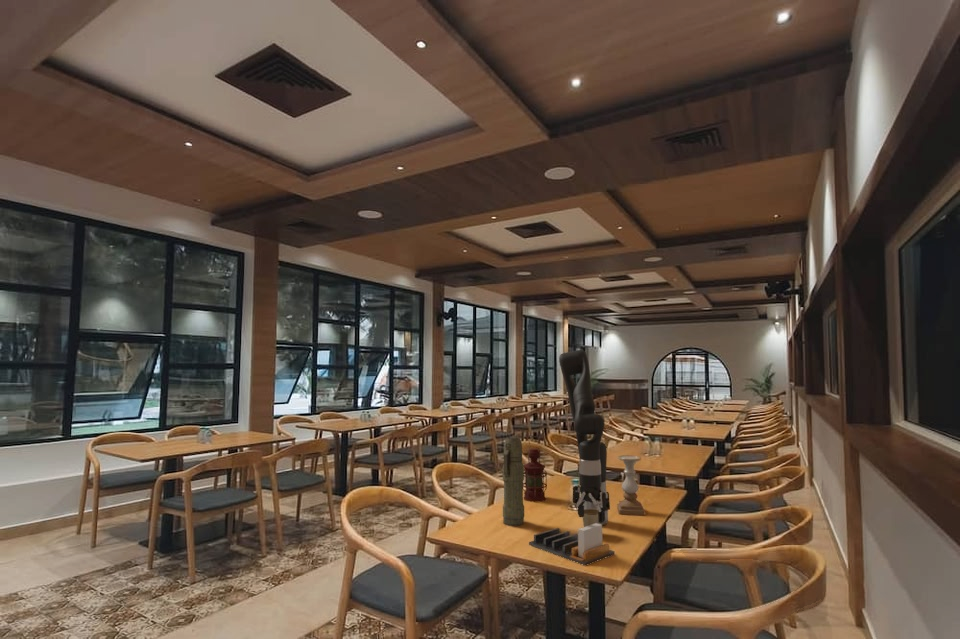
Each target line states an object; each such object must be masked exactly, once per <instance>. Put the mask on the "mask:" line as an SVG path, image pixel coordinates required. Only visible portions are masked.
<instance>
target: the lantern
mask: <svg viewBox="0 0 960 639" xmlns="http://www.w3.org/2000/svg"><path fill="white" fill-rule="evenodd" d="M532 438H538V439H540V437H539V436H535V435H534V436H531V437H529V439H528V444H529V450H528V452H527V457H528V458H527V463H526V464H523V466H524V471H525V472H524V481H525V482H523V500H524V501H526V502H532V501H534V503H536V502H535V501H540V502H543V500H544V501H545V500H546V495H545V494H546V493H545V492H546V490H547V489H548V487H547V486H548V485H547V484H548V483H546V482H547V476H548V474H547V471H546V470H545V468H546V465H545V464H542V462H541V451H540V448H539V447H537V448H531V447H532V446H531V443H530V440H531V439H532ZM539 443H540V440H538V441H537V444H539ZM544 478H545V479H544ZM544 480H545V482H544ZM524 488H525V489H524Z"/></svg>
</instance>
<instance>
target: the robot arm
mask: <svg viewBox="0 0 960 639" xmlns="http://www.w3.org/2000/svg"><path fill="white" fill-rule="evenodd" d="M558 358H559V360H558V361H559V366H560V370H561V374H562V378H563V381H564V384H565V389H566V392H567V397H568V402H569V408H570V413H571V417H572V422H573V430H574V431H575V434H576V435H575V436H576V441H577V450H578V456H579V462H578V478H579V479H578V480H579V482H578V484H579V485H574V486H572V503H573V504H575V505H576V506H577V515H578V517H579V518H582V517H584V509H598V511H599V512H598V522H599V523H602V526H605V525H607V524H608V522H609V510H611V506H610V492H609V491H607V457H608V455H607V454H608V452H607V446H606V443H604V442H603V441H602V436H603V434H604V430H605V418H604V417H603V416H602V415H600V414H599V413H598V414H597V413H595V412H596V404H595V399H594V396H593V393H592V392H593V391H592V380H591V371H590V369H591V368H590V364H589V358H588V354H587V353H586V351H585V350H584V349H577V350H571V351H569V352H568V351H567V352H564V353H563V352H562V353H561V354H559V356H558ZM580 374H581V375H580ZM574 375H575V376H576V375H580V378H579V380H578V382H577V383H576V382H575V379H574V378H573V377H572V376H574ZM588 435H592V437H591V438H590V439H588Z"/></svg>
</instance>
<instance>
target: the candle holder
mask: <svg viewBox="0 0 960 639" xmlns="http://www.w3.org/2000/svg"><path fill="white" fill-rule="evenodd" d="M617 459H618V461H623V464H624V465H625V468H624V469H623V473H624V475H625V479H624V481H623V482H622V484H621V490H622V491H623V492H624V493H623V495H622V496H623V499H622V500H619V502H618V503H617V504H616V506H617V512H618V514H619V515H621V516H622V515H624V516H645V514H646V513H645V509H644V506H643V505H642V502H641V501H639V500H638V494H637V492H638V491H639V485H638V483H637V482H636V480H635V477H634V476H635V474H636V473H637V472H636V470H635V465H636V462H640V461H642V457H640V456H638V455H628V454H627V455H626V454H625V455H618V456H617Z"/></svg>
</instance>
